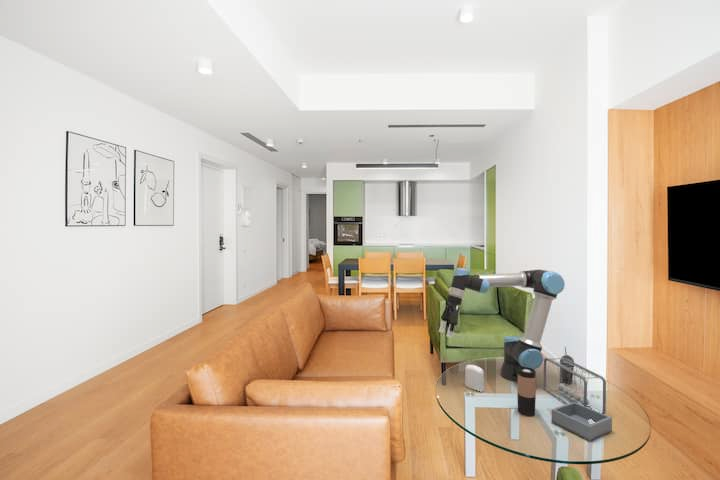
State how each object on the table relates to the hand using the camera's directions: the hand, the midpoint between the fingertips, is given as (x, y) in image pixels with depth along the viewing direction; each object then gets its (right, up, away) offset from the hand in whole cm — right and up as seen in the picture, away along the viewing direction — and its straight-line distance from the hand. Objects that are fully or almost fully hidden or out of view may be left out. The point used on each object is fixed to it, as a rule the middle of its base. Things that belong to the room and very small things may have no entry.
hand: (444, 334), depth 187 cm
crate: (+49, -30, -37) cm, 68 cm away
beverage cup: (+70, -30, +9) cm, 77 cm away
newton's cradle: (+60, -30, -14) cm, 68 cm away
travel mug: (+32, -30, -25) cm, 50 cm away
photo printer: (+16, -29, +1) cm, 33 cm away
